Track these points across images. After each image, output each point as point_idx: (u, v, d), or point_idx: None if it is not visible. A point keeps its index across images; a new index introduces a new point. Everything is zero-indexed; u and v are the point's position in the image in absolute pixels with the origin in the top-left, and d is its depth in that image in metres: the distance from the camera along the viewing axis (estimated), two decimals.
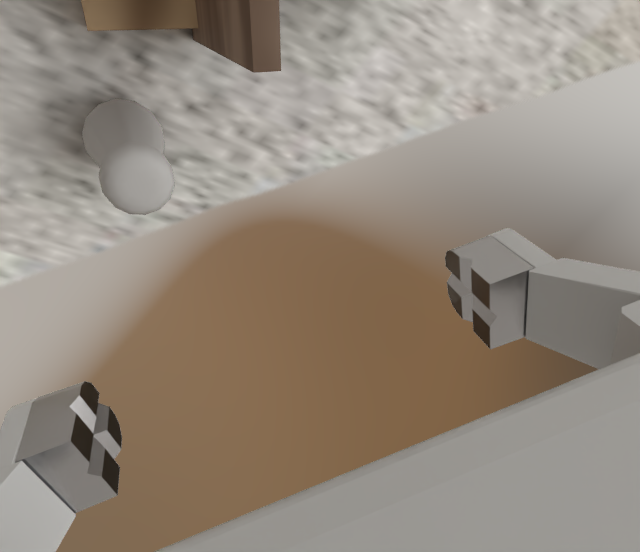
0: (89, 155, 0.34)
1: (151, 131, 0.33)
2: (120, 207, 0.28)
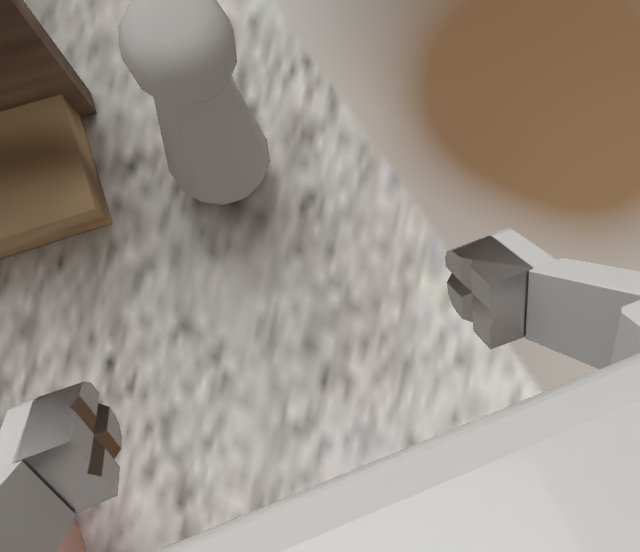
0: (240, 184, 0.26)
1: None
2: (218, 50, 0.17)
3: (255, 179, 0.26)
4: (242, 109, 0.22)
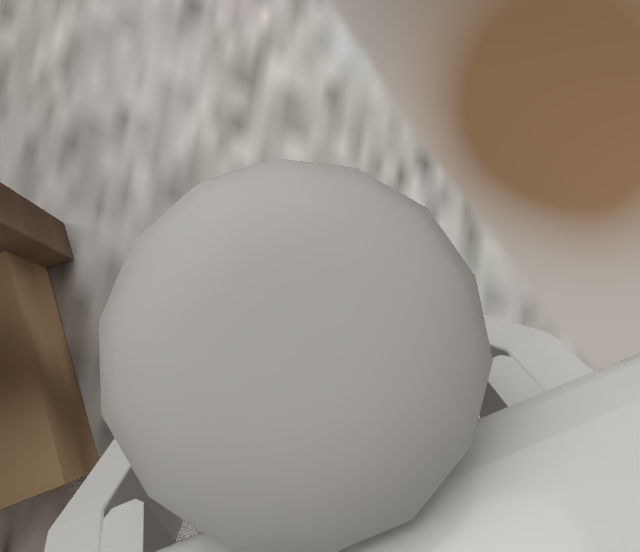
0: None
1: None
2: (465, 421, 0.05)
3: None
4: None
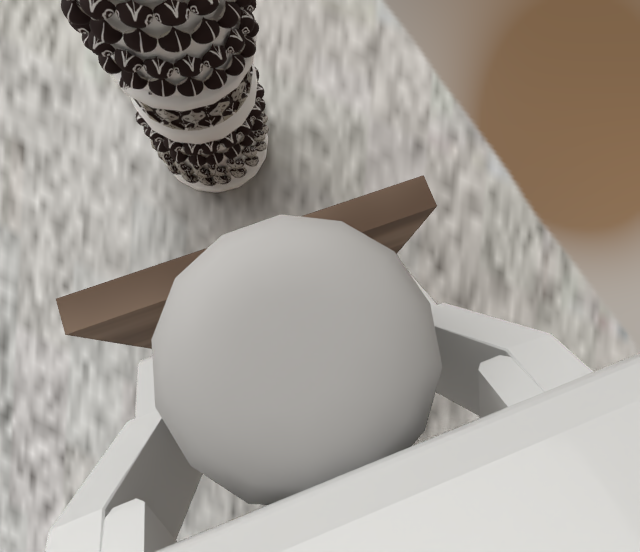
0: None
1: None
2: (419, 411, 0.06)
3: None
4: None
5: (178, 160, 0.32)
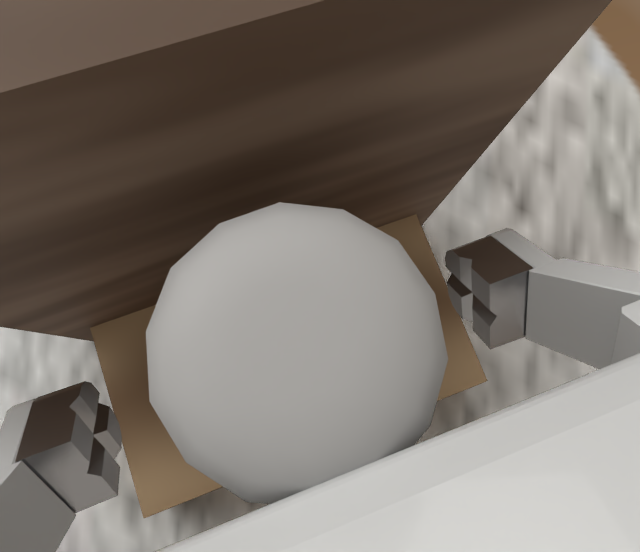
0: None
1: None
2: (424, 405, 0.06)
3: None
4: None
5: None
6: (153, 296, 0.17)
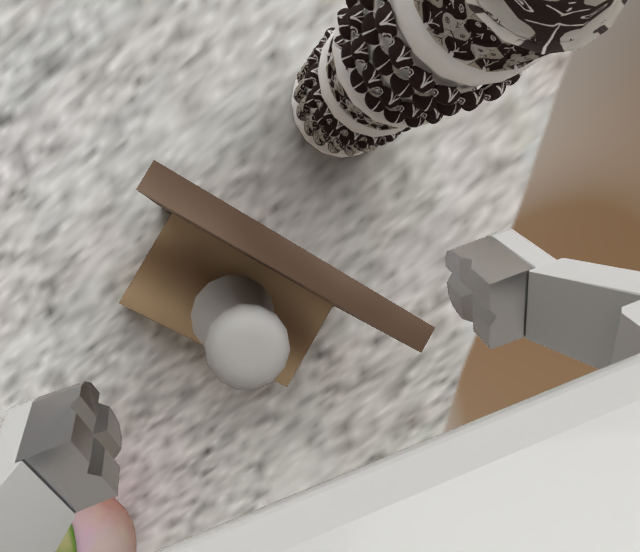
0: None
1: (232, 292, 0.29)
2: (258, 385, 0.24)
3: None
4: None
5: (308, 103, 0.33)
6: None
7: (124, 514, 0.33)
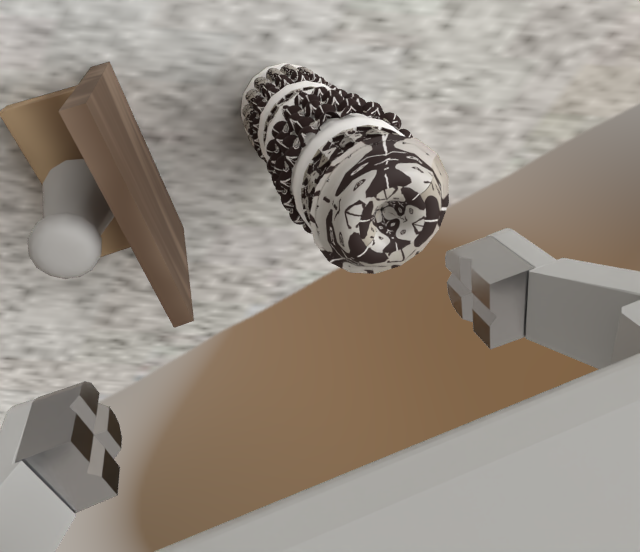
0: None
1: (89, 190, 0.35)
2: (53, 275, 0.31)
3: None
4: None
5: (253, 104, 0.39)
6: None
7: None
